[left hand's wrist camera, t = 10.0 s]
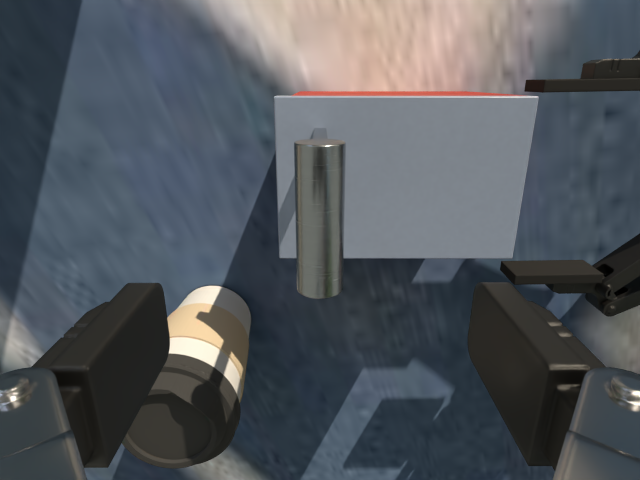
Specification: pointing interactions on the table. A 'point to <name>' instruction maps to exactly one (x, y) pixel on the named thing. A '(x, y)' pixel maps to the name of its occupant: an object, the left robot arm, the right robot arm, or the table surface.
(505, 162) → the lid
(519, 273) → the right robot arm
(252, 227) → the table surface
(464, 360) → the table surface
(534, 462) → the left robot arm
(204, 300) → the coffee cup
